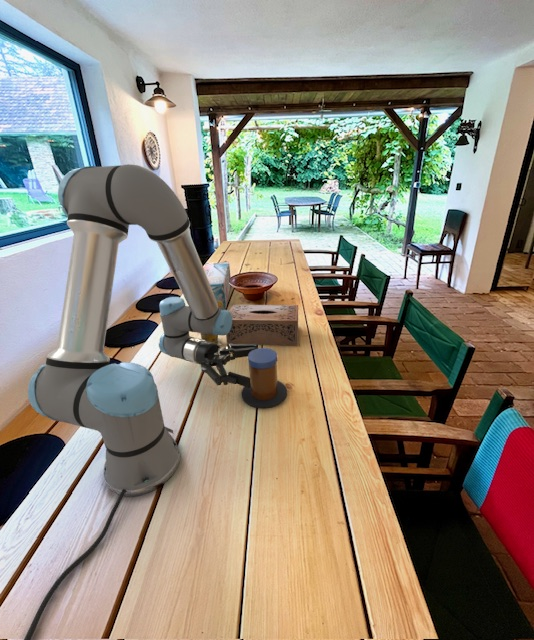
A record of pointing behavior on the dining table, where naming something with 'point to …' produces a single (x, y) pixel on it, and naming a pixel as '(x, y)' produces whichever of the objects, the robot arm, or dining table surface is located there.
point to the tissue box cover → (264, 325)
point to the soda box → (219, 281)
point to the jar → (263, 382)
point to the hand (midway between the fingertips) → (263, 369)
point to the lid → (262, 358)
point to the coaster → (265, 403)
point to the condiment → (210, 338)
